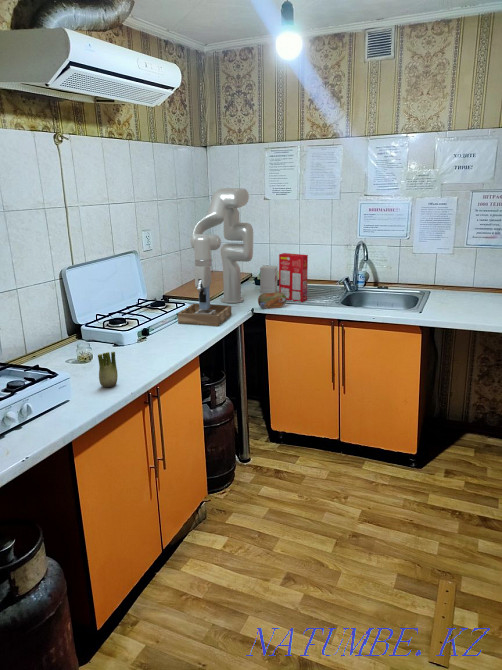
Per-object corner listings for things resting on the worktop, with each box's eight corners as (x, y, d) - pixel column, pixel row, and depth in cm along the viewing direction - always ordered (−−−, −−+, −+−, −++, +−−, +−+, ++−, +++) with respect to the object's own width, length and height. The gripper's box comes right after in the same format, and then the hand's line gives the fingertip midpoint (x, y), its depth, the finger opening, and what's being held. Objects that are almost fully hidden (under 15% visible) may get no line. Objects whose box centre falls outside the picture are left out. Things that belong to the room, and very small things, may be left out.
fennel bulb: (118, 382, 177) (115, 349, 173) (117, 388, 172) (114, 354, 169) (101, 384, 176) (97, 350, 172) (99, 389, 171) (95, 355, 168)
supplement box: (275, 293, 302) (274, 268, 298) (260, 293, 304) (259, 267, 300) (277, 290, 311) (277, 265, 306) (263, 289, 313) (263, 265, 308)
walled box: (194, 313, 263) (193, 303, 262) (231, 315, 258) (231, 305, 256) (178, 323, 245) (177, 313, 243) (218, 326, 239) (217, 316, 238)
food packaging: (306, 300, 285) (307, 254, 278) (302, 302, 281) (302, 256, 274) (283, 297, 293) (284, 253, 286) (279, 299, 289) (279, 254, 282)
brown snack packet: (259, 309, 268) (258, 293, 265) (257, 308, 270) (257, 292, 268) (286, 307, 271) (286, 291, 269) (284, 306, 274) (284, 290, 272)
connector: (202, 307, 252) (201, 282, 248) (210, 307, 251) (209, 283, 247) (199, 309, 248) (198, 284, 245) (207, 309, 247) (206, 284, 244)
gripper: (202, 260, 252) (203, 296, 257) (188, 265, 236) (190, 304, 242) (216, 260, 250) (217, 297, 255) (204, 266, 234) (205, 305, 240)
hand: (204, 300), depth 248 cm, fingers closed on connector, 4 cm apart
